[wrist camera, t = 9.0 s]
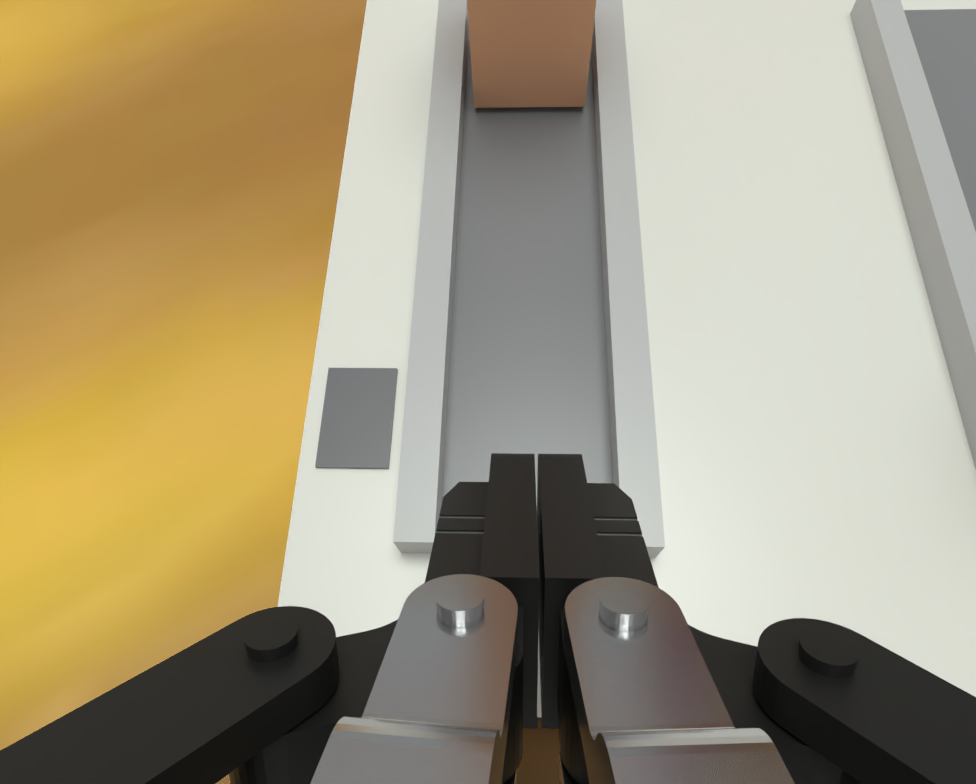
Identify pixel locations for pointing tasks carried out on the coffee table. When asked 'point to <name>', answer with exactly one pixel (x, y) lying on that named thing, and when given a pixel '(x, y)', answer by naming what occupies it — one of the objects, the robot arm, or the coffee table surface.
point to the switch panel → (666, 311)
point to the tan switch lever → (530, 52)
